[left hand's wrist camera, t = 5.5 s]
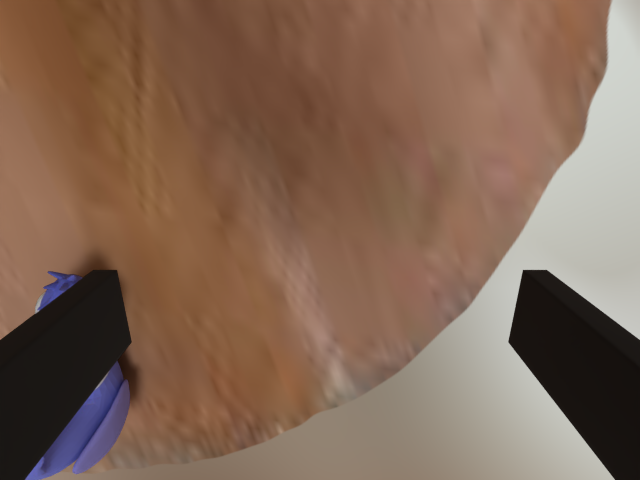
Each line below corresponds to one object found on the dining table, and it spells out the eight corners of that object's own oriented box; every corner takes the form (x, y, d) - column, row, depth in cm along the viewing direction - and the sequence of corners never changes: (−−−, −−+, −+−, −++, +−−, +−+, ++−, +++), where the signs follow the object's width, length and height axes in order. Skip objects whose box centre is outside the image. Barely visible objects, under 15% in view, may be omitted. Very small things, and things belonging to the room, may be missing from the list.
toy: (150, 391, 54) (140, 246, 41) (91, 532, 40) (47, 380, 26) (76, 383, 53) (41, 231, 39) (-12, 525, 38) (-111, 363, 25)
